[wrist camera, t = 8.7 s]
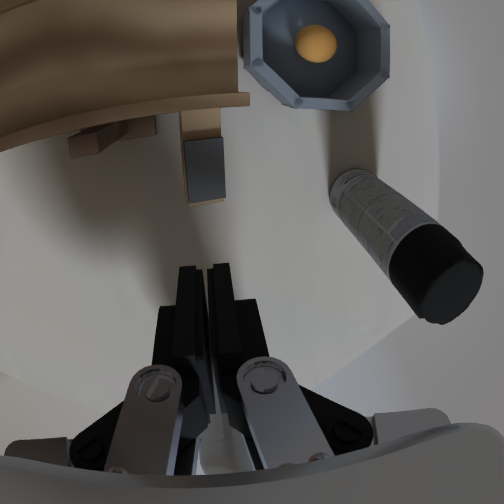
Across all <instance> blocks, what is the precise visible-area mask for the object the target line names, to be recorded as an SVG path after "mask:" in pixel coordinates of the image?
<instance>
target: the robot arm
mask: <svg viewBox="0 0 504 504" xmlns="http://www.w3.org/2000/svg"><path fill="white" fill-rule="evenodd" d="M207 280H208V306H209V318H208V311H207V303H206V295H205V287H204V279H203V271H202V269H199V270H196V265H195V266H183V267H180V268H179V276H178V286H177V297H176V305H172V306H160V308H159V312H158V319H157V327H156V334H155V342H154V350H153V358H152V365H151V366H147V367H144V368H143V369H141V370H139V371H138V372H137V373H136V374H135V375H134V376H133V378H132V379H131V381H130V384H129V387H128V390H127V393H126V396H125V399H124V401H123V402H121V403H120V404H119V405H117V406H116V407H115V408H113V409H112V410H111V411H109V412H108V413H107V414H105V415H104V416H103V417H102V418H100V419H98V420H97V421H96V422H94V423H93V424H92V425H90V426H89V427H88V428H86V429H85V430H83V431H82V432H81V433H79V434H78V435H77V436H76V437H75V438H74V439H68V438H67V437H59V438H47V439H31V440H17V441H13V442H12V443H11V444H9V445H8V447H7V448H6V450H5V454H4V456H0V504H504V437H503V436H502V435H501V434H500V433H499V432H498V431H497V430H495V429H494V428H493V427H490V426H488V425H484V424H478V423H454V424H451V423H450V421H449V419H448V417H447V415H446V414H445V413H443V412H442V411H440V410H438V409H435V408H433V409H432V408H428V409H419V410H411V411H401V412H390V413H376V414H374V415H373V417H364V416H363V415H361V414H359V413H357V412H355V411H353V410H351V409H348V408H346V407H344V406H342V405H340V404H337V403H335V402H333V401H331V400H329V399H327V398H324V397H323V396H321V395H319V394H317V393H315V392H312V391H310V390H308V389H306V388H304V387H302V386H300V385H298V383H297V381H296V379H295V377H294V375H293V373H292V371H291V370H290V368H289V367H288V366H287V364H285V363H284V362H282V361H281V360H279V359H276V358H273V357H269V353H268V348H267V344H266V340H265V336H264V332H263V327H262V323H261V319H260V315H259V311H258V306H257V302H256V299H246V300H234V294H233V287H232V280H231V273H230V266H229V263H220V264H213V268H211V269H207ZM198 451H199V456H200V464H201V467H202V469H203V471H204V473H205V474H206V475H196V468H197V460H198Z"/></svg>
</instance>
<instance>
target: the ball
mask: <svg viewBox="0 0 504 504" xmlns="http://www.w3.org/2000/svg"><path fill="white" fill-rule="evenodd" d="M295 48H296V50H297V52H298V53H299V55H300V56H301V57H302V58H304V59H305V60H307V61H310V62H314V63H320V62H324V61H327V60H329V59H330V58H331V57H332V56H333V55H334V54H335V52H336V48H337V42H336V38H335V36H334V35H333V33H332V32H331V31H330V30H329V29H327V28H326V27H323V26H320V25H308V26H305V27H303V28H302V29H301V30H300V31H299V32H298V33H297V35H296V37H295Z"/></svg>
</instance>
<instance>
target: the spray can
mask: <svg viewBox="0 0 504 504" xmlns="http://www.w3.org/2000/svg"><path fill="white" fill-rule="evenodd" d="M330 203H331V206H332V208H333V211H334V212H335V214H336V215H337V216H338V217H339V218H340V219H341V221H342V222H343V223H344V224H345V226H346V227H347V228H348V229H349V230H350V231H351V233H352V234H353V235H354V236H355V237H356V239H357V240H358V241H359V242H360V244H361V245H362V246H363V247H364V248H365V250H366V251H367V252H368V253H369V255H370V256H371V257H372V258H373V259H374V261H375V262H376V263H377V265H378V266H379V267H380V268H381V270H382V271H383V272H384V274H385V275H386V276H387V277H388V279H389V280H390V281H391V282H392V284H393V285H394V287H395V288H396V289H397V290H398V292H399V293H400V294H401V295H402V297H403V298H404V299H405V300H406V302H407V303H408V304H409V306H410V307H411V308H412V310H413V311H414V312H415V314H416V315H417V316H418V317H419V318H425V319H426V321H428V322H430V323H439V324H440V325H444V324H446V323H448V322H451V321H452V320H454V319H455V318H456V317H458V316H459V315H460V314H461V313H462V312H464V311H465V310H466V308H468V306H469V305H470V303H471V302H472V300H473V299H474V298H475V296H476V295H477V293H478V291H479V289H480V286H481V283H482V279H483V268H482V266H481V265H480V264H479V263H478V262H477V261H476V260H475V259H474V258H473V257H472V256H471V255H470V254H469V253H468V252H467V251H466V250H465V249H464V247H463V246H462V244H461V243H460V241H459V240H458V239H457V238H456V237H454V236H453V235H452V234H451V233H450V232H449V231H447V230H446V229H445V228H444V227H443V226H441V225H440V224H439V223H438V222H437V221H435V220H434V219H433V218H432V217H430V216H429V215H428V214H426V213H425V212H424V211H423V210H421V209H420V208H419V207H417V206H416V205H415V204H413V203H412V202H411V201H409V200H408V199H407V198H405V197H404V196H402V195H401V194H400V193H398V192H397V191H396V190H394V189H393V188H391V187H390V186H388V185H387V184H386V183H384V182H383V181H381V180H380V179H378V178H377V177H375V176H374V175H372V174H371V173H369V172H368V171H365V170H361V169H352V170H349V171H346V172H344V173H343V174H341V175H340V176H339V177H338V178H337V179H336V181H335V182H334V184H333V186H332V190H331V192H330Z"/></svg>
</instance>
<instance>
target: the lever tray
mask: <svg viewBox="0 0 504 504" xmlns="http://www.w3.org/2000/svg"><path fill="white" fill-rule="evenodd" d="M240 106H250V93H247V92H238V59H237V0H0V152H2V151H5V150H8V149H11V148H14V147H17V146H20V145H23V144H26V143H29V142H33V141H36V140H40V139H43V138H47V137H50V136H54V135H58V134H61V133H65V132H69V131H73V130H78V129H82V128H86V127H91V126H95V125H100V124H105V123H110V122H115V121H120V120H126V119H132V118H138V117H144V116H150V115H157V114H165V113H172V112H179V125H180V139H181V152H182V164H183V176H184V186H185V197H186V203H187V205H188V206H189V207H192V206H197V205H203V204H209V203H215V202H221V201H224V198H226V191H225V169H224V145H223V137H221V125H220V108H224V107H240Z"/></svg>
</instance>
